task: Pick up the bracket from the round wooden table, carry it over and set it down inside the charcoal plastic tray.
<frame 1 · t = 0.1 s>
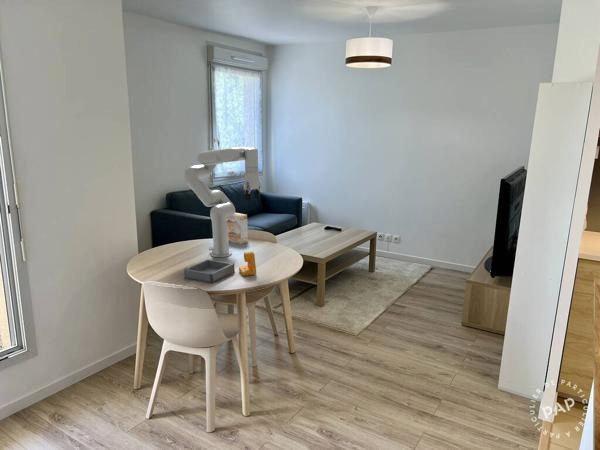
hand: (252, 199, 258), 37 cm above the table, tool pointing down, fingers open, 9 cm apart
coffeecake box: (237, 241, 308), on the table
tray: (210, 275, 238), on the table
bracket: (247, 273, 241), on the table
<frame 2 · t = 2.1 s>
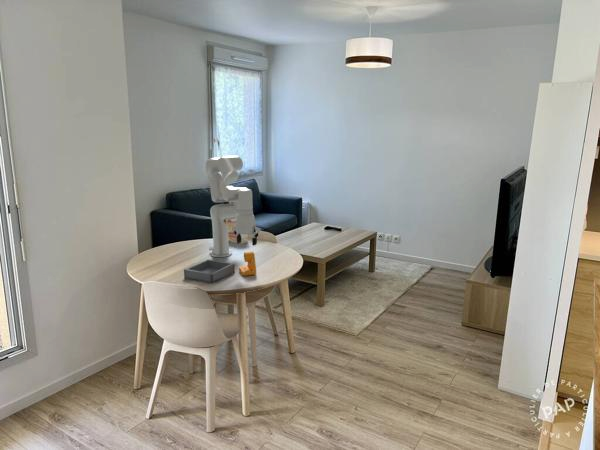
hand: (246, 243, 237), 17 cm above the table, tool pointing down, fingers open, 9 cm apart
nothing on the table moved.
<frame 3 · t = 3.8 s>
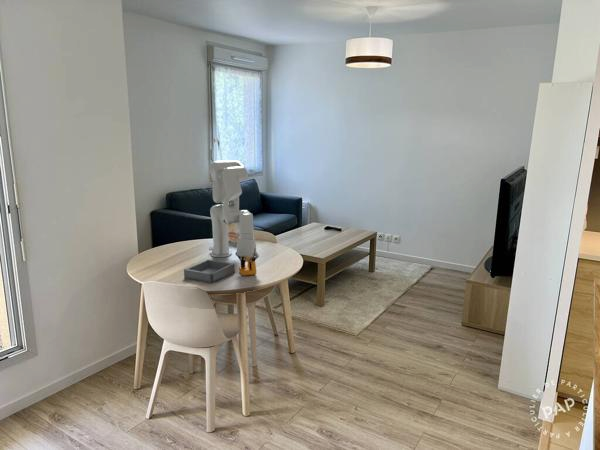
hand: (247, 267, 240), 3 cm above the table, tool pointing down, fingers closed on bracket, 4 cm apart
bracket: (247, 273, 241), on the table, touching gripper
everything else where it was.
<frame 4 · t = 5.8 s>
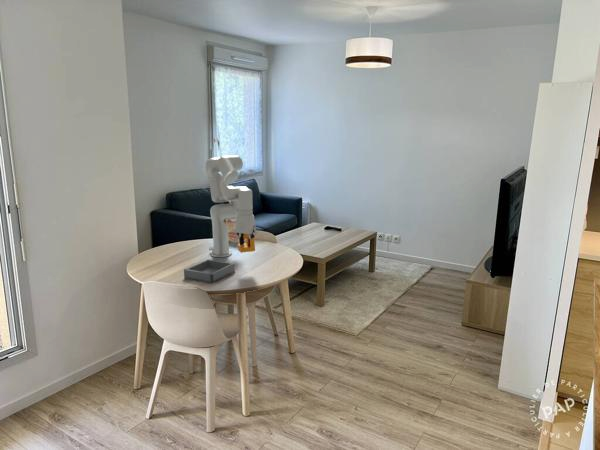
hand: (246, 244, 238), 16 cm above the table, tool pointing down, fingers closed on bracket, 4 cm apart
bracket: (246, 250, 239), point 12 cm above the table, touching gripper
everything else where it was.
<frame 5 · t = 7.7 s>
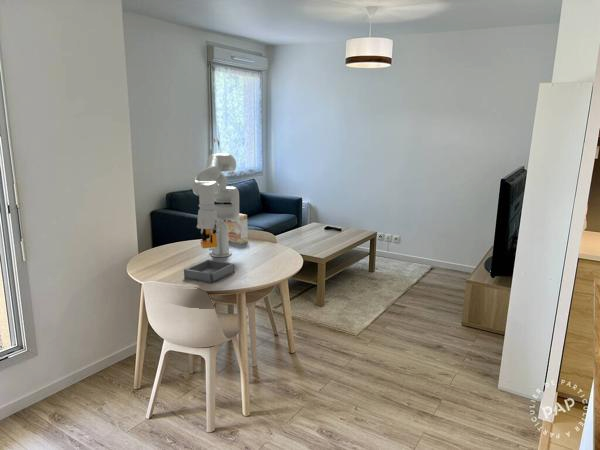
hand: (208, 240, 234), 19 cm above the table, tool pointing down, fingers closed on bracket, 4 cm apart
bracket: (208, 246, 234), point 16 cm above the table, touching gripper
everything else where it was.
when the fingers open (6 cm above the table, at t = 11.0 s): bracket drops 2 cm, resting on tray.
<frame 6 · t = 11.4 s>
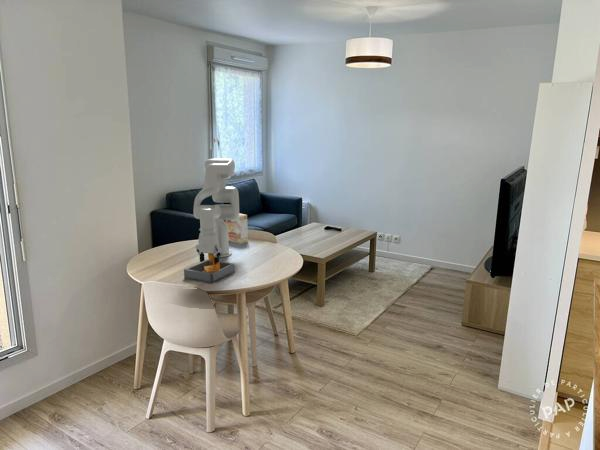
hand: (209, 262, 236), 7 cm above the table, tool pointing down, fingers open, 9 cm apart
bracket: (212, 273, 238), point 1 cm above the table, touching gripper, tray
everything else where it was.
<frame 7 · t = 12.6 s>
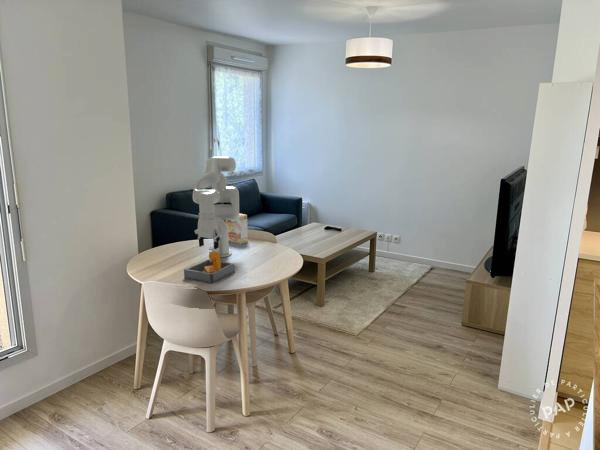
hand: (208, 247, 235), 16 cm above the table, tool pointing down, fingers open, 9 cm apart
bracket: (212, 273, 238), point 1 cm above the table, touching tray
everything else where it was.
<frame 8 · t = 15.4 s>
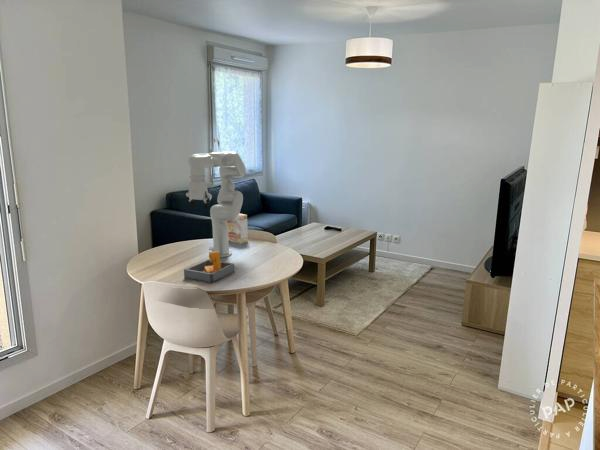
hand: (199, 209, 245), 33 cm above the table, tool pointing down, fingers open, 9 cm apart
nothing on the table moved.
at the end: bracket inside the target area on the tray (1.6 cm from its centre), point 0.8 cm above the tray's base; the gripper is holding nothing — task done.
